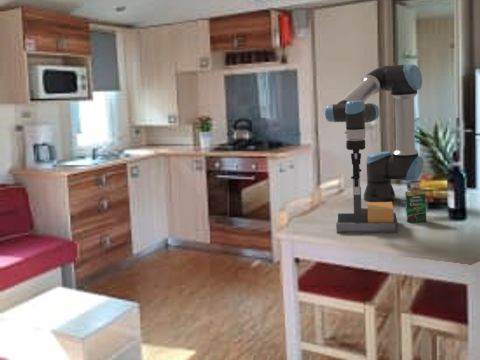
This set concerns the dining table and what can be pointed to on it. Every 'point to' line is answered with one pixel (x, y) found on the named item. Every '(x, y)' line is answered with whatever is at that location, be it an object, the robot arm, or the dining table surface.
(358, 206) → the grey and orange block
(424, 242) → the dining table surface
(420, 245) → the dining table surface
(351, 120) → the robot arm
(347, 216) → the bay
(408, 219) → the coffee box
